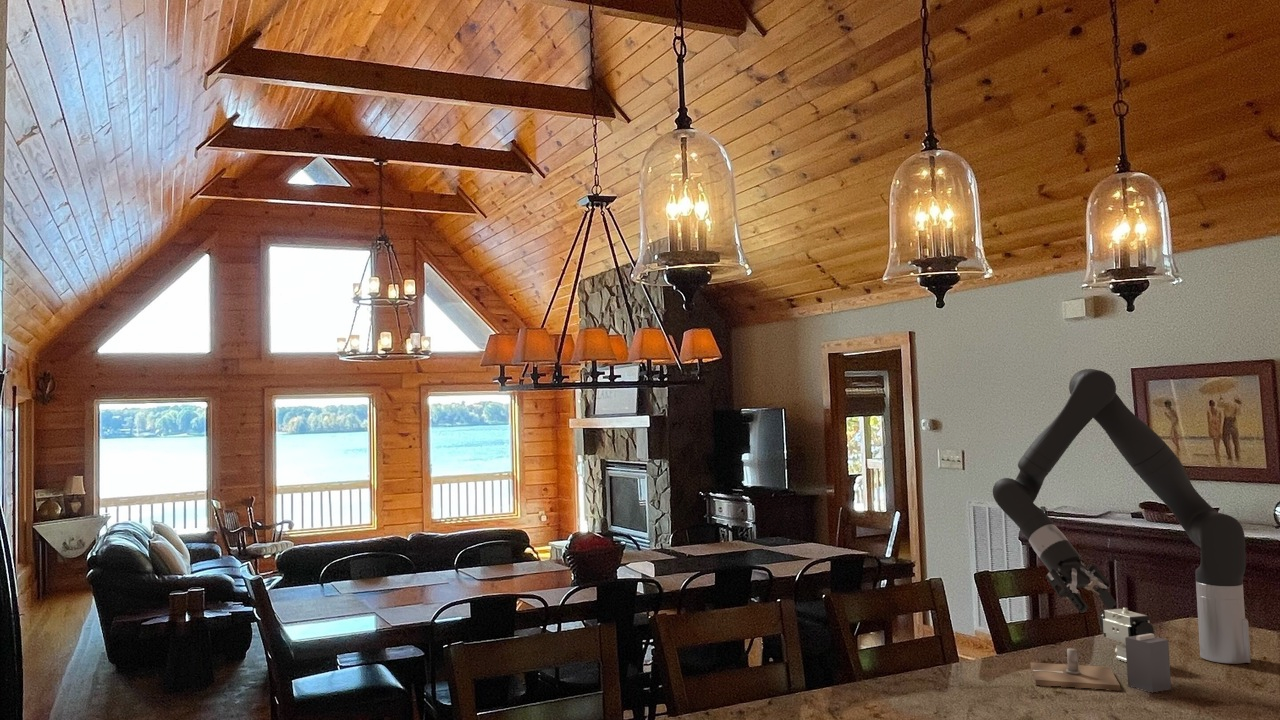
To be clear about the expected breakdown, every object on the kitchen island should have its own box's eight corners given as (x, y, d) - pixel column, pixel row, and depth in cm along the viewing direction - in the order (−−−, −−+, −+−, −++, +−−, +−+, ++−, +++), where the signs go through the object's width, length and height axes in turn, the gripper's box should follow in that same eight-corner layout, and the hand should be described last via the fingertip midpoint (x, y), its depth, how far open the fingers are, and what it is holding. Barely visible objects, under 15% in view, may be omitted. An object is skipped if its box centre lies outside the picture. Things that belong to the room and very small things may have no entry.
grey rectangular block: (1146, 682, 194) (1143, 630, 195) (1171, 689, 189) (1168, 635, 190) (1128, 686, 192) (1125, 633, 193) (1152, 693, 187) (1149, 639, 188)
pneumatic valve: (1117, 653, 217) (1114, 602, 218) (1156, 666, 206) (1153, 612, 207) (1097, 656, 216) (1094, 604, 217) (1136, 668, 205) (1133, 614, 205)
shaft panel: (1109, 672, 202) (1108, 643, 203) (1120, 691, 189) (1118, 660, 189) (1030, 667, 207) (1029, 639, 208) (1035, 685, 194) (1034, 655, 195)
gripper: (1039, 541, 208) (1085, 601, 197) (1085, 536, 214) (1132, 595, 202) (1022, 561, 212) (1066, 622, 201) (1067, 556, 218) (1112, 615, 207)
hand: (1099, 608), depth 202 cm, fingers open, 8 cm apart
